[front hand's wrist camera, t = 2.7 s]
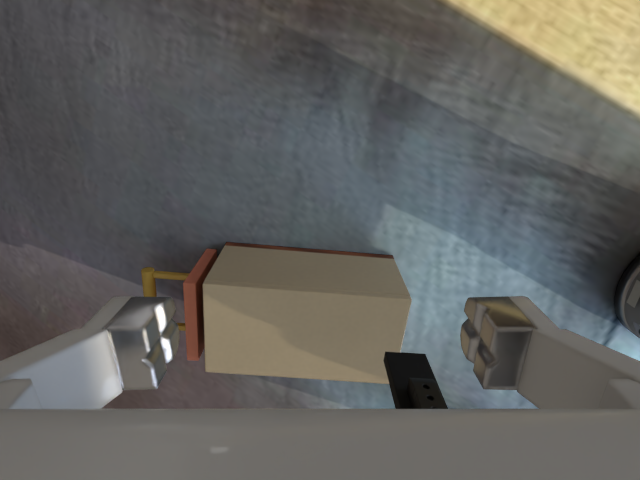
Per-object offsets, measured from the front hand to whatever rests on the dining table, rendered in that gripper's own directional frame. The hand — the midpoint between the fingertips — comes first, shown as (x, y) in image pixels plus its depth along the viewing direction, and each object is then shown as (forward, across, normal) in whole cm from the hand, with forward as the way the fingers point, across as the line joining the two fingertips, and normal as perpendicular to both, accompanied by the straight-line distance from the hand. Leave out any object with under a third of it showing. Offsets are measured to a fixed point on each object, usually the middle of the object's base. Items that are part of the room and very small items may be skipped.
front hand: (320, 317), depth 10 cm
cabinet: (+32, +2, +17) cm, 36 cm away
